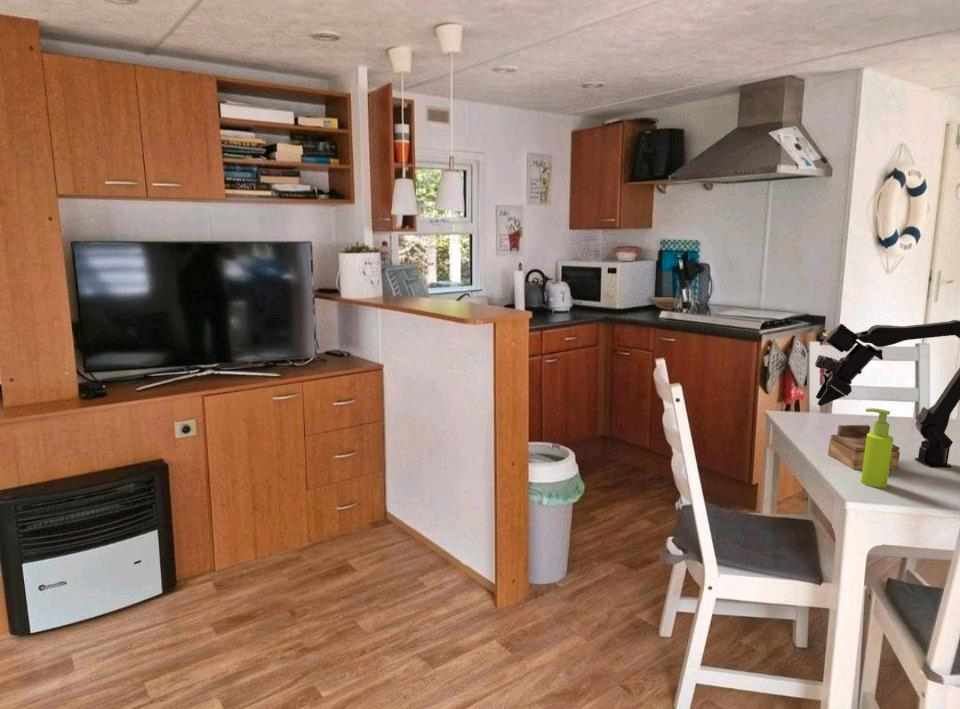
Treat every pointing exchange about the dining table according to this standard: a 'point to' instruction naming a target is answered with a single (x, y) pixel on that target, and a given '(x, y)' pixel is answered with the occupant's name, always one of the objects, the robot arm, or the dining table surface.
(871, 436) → the soap dispenser
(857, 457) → the wooden box
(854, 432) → the lid
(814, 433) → the dining table surface
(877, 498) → the dining table surface
